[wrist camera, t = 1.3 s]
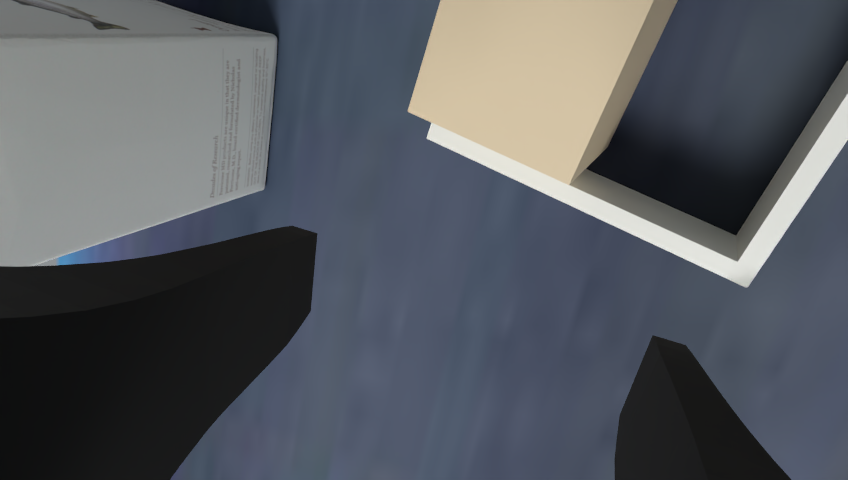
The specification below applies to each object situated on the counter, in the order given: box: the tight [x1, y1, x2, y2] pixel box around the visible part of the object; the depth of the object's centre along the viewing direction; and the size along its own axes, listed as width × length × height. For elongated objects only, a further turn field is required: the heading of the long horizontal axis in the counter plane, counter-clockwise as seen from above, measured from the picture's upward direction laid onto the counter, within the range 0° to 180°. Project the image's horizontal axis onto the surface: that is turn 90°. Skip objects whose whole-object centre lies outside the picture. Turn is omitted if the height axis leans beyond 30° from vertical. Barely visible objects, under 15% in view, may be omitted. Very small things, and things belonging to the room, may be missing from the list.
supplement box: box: [0, 0, 277, 267], centre depth 22 cm, size 7×7×13 cm
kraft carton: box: [408, 0, 678, 185], centre depth 17 cm, size 5×5×6 cm
